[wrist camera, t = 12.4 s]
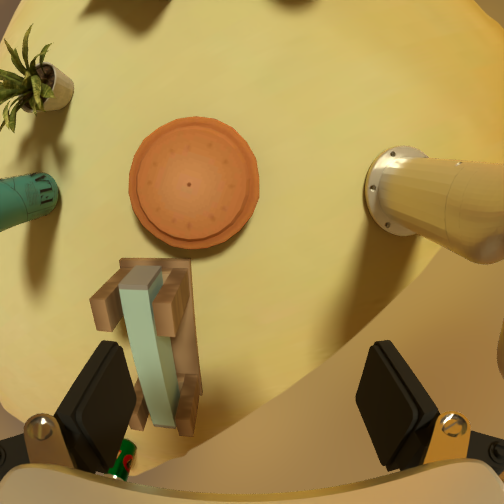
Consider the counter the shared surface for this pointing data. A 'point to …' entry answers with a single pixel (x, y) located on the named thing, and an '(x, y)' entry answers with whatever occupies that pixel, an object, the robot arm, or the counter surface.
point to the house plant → (33, 85)
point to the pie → (194, 182)
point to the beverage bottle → (26, 198)
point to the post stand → (161, 332)
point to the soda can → (122, 462)
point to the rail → (150, 344)
